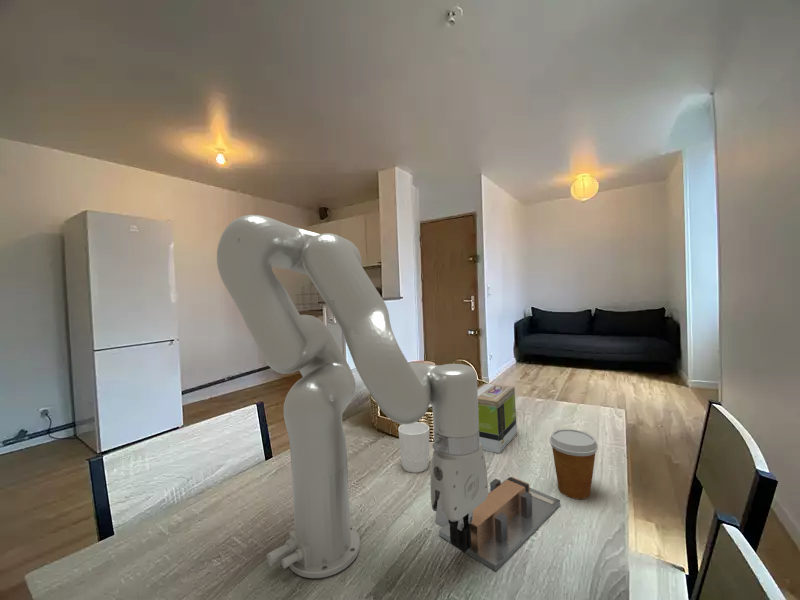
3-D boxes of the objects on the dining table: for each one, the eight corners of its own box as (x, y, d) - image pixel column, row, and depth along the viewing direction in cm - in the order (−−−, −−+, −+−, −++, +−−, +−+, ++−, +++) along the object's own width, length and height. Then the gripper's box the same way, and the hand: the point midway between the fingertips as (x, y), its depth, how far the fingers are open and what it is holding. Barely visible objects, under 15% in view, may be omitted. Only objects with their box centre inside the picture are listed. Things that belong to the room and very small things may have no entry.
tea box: (486, 427, 114) (484, 381, 114) (517, 434, 108) (516, 386, 108) (465, 446, 102) (463, 394, 101) (499, 455, 96) (498, 400, 96)
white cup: (428, 475, 87) (427, 435, 87) (397, 473, 89) (395, 433, 89) (432, 459, 95) (430, 422, 95) (403, 457, 97) (401, 421, 96)
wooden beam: (478, 549, 61) (477, 526, 61) (458, 537, 64) (458, 515, 64) (529, 503, 73) (529, 483, 73) (511, 494, 76) (511, 476, 76)
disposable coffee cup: (597, 509, 72) (596, 450, 72) (546, 496, 77) (545, 441, 77) (600, 485, 80) (599, 432, 80) (554, 475, 85) (553, 425, 85)
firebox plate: (495, 571, 58) (495, 541, 57) (439, 535, 66) (438, 509, 66) (560, 504, 74) (559, 481, 74) (507, 482, 83) (507, 461, 83)
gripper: (444, 463, 52) (449, 585, 53) (500, 431, 62) (504, 534, 63) (408, 447, 58) (413, 558, 59) (465, 421, 68) (469, 515, 69)
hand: (460, 545), depth 61 cm, fingers closed
